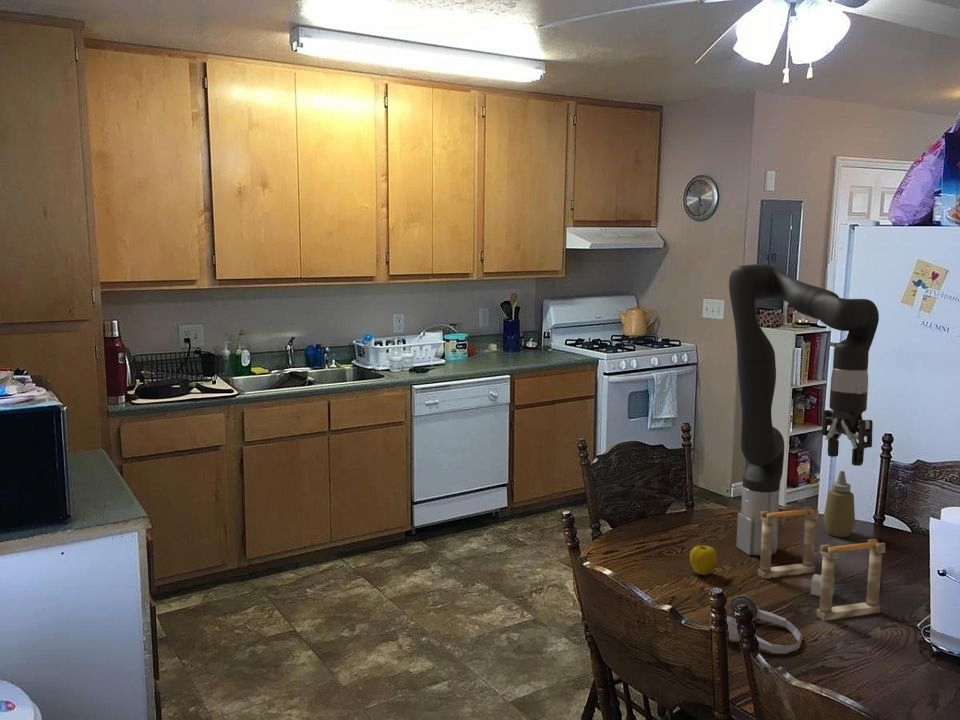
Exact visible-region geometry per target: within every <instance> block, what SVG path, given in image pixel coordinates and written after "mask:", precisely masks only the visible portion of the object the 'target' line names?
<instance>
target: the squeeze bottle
mask: <svg viewBox="0 0 960 720" xmlns="http://www.w3.org/2000/svg"><path fill="white" fill-rule="evenodd" d="M837 476H838V477H837V478H836V479H837V480H836V481H833V482H832V484H831V489H830V490H828V491H827V495H826V500H825V501H826V503H825V507H824V508H825V509H824V513H823V519H822V520H823V524H824V527H825V531H826V533H827V534H829V535H830V536H834V537H836V538H837V537H840V538H846V537H849V536H850V535H851V533H852V531H853V530H854V526H855V524H856V517H855V516H856V515H855V514H856V513H855V512H856V511H855V495H854V493H853V492H851V484H850V483H847V478H846V472H845V471H844V470H840V471H839V473H838V475H837Z"/></svg>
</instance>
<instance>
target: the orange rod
mask: <svg viewBox="0 0 960 720" xmlns="http://www.w3.org/2000/svg"><path fill="white" fill-rule="evenodd" d="M878 543H879V541H877V542H868V541H867V542H861V543H853V544H845V545H835V546H830V547H828V548H827V551H828V549H838V553H841V552H849V551H856V550H857V551H858V550H865V549H867V548H874V547H876V544H878Z"/></svg>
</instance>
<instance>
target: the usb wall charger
mask: <svg viewBox="0 0 960 720" xmlns="http://www.w3.org/2000/svg"><path fill="white" fill-rule="evenodd" d="M799 585H800V586H804V587H807V588H810V595H811V596H816V597H820V591H821V574H819V573H818V574H817V573H814V574H813V575H812V577H811V580H810V579H806V578H801V581H800V582H799ZM834 592H835V577H834V578H833V594H832V597H833V596H834Z"/></svg>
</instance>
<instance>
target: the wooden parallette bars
mask: <svg viewBox="0 0 960 720" xmlns="http://www.w3.org/2000/svg"><path fill="white" fill-rule="evenodd" d="M803 509H813V506H804V507H803ZM767 513H769V511H763V512H761V516H760V520H762V539H761V556H760V563H759V564H760V565H759V568H757V575H758V576H759V577H760V576H761V577H760V578H761V579H763V578H765V579H772V578H771V577H773V578H780V576H781V577H787V576H786V575H789V576H795V575H803V573H804V574H809V573H811V574H812V573H815V572H816V566H815V564H814V560H815V559H814V557H815V539H816V524H817V522H816V521H817V519H819V509H813V510H810V514H804V515H803V516H804V517H805V518H804V533H803V534H804V536H803V550H802V552H803V553H802V554H803V555H802V563H796V564H795V563H793V564H787V565H780V566H779V565H778V566H771V565H772V555H771V550H772V530H773V523H775V515H774V514H772V515H767V516H766V514H767ZM868 542H878V539H876V538H871V539H867V543H868ZM828 547H831V545H830V544H821V545H820V552H819V554H820V555H821V556H822V561H821V574H820V575H821V591H820V596H819V608H816V617H818V618H820V619H821V620H822V621H830V620H838V619H839V620H840V619H845V618H851V617H858V616H859V617H860V616H866V615H872V614H880V613H881V611H882V610H881V607H882V606H881V605H880V604H879V599H880V586H881V585H880V584H881V572H882V558H883V557H882V556H883V554H884V553H886V543H885V542H878V544H876V547H874V548H866V549H868V550H869V559H868V570H867V571H868V572H867V587H866V599H865V601H863V602H860V603H859V602H857V603H851V604H844V605H836V606H833V596H832V594H833V595H834V593H833V578H834V579H835V577H834V575H835V560H836V559H838V558H839V557H838V556H839V552H838V549H828V551H827V548H828Z"/></svg>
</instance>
